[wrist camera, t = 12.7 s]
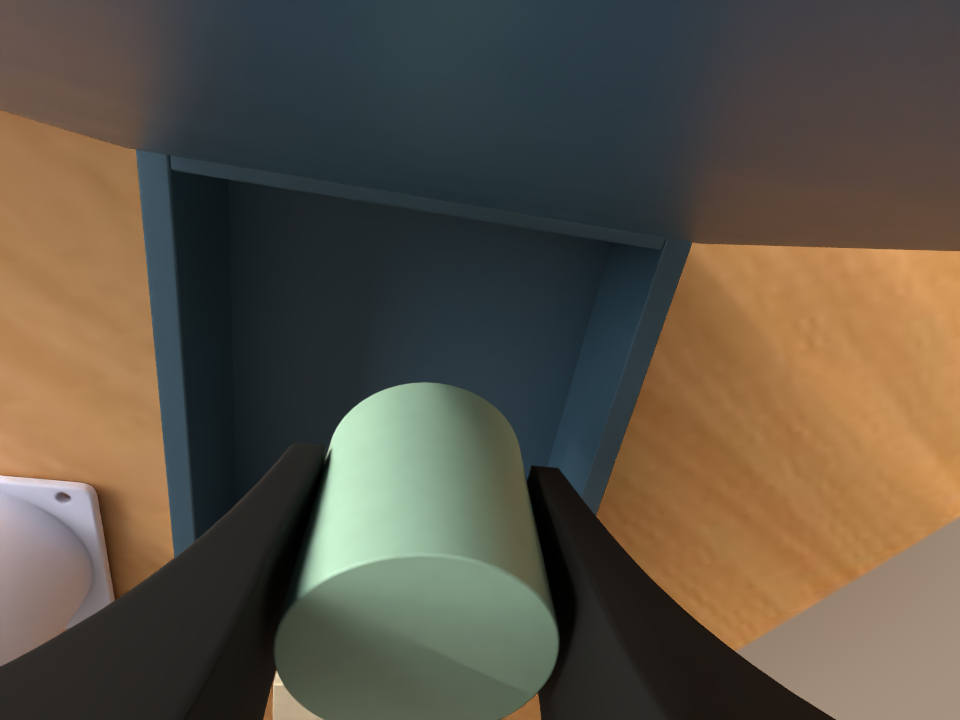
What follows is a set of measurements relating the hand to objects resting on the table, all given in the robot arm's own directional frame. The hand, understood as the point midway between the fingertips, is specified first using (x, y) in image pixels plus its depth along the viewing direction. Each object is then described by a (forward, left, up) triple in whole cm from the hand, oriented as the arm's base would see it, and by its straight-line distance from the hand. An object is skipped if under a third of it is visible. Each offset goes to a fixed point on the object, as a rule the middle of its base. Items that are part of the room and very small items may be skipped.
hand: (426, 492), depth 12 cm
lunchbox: (-1, -2, -8) cm, 8 cm away
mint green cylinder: (0, 0, -1) cm, 1 cm away
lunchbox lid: (-1, +8, +4) cm, 9 cm away
